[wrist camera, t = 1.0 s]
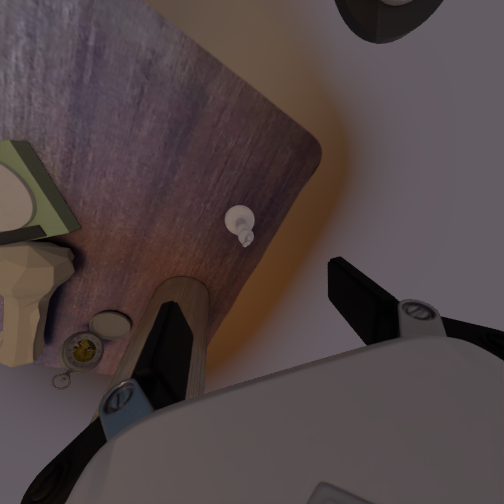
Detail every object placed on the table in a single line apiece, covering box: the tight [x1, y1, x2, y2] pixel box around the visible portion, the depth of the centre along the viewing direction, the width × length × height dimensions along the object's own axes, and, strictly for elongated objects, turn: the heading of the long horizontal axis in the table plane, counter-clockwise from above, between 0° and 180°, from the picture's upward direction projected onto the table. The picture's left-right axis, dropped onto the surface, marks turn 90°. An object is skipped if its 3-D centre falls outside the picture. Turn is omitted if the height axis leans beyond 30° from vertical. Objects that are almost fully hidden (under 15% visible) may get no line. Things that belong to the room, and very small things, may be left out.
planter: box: [89, 277, 210, 425], centre depth 25 cm, size 10×10×23 cm
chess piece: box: [225, 205, 255, 247], centre depth 26 cm, size 5×5×10 cm
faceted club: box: [0, 241, 75, 367], centre depth 28 cm, size 9×8×25 cm
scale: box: [0, 140, 81, 246], centre depth 23 cm, size 11×11×3 cm
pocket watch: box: [51, 311, 131, 390], centre depth 31 cm, size 8×8×10 cm
